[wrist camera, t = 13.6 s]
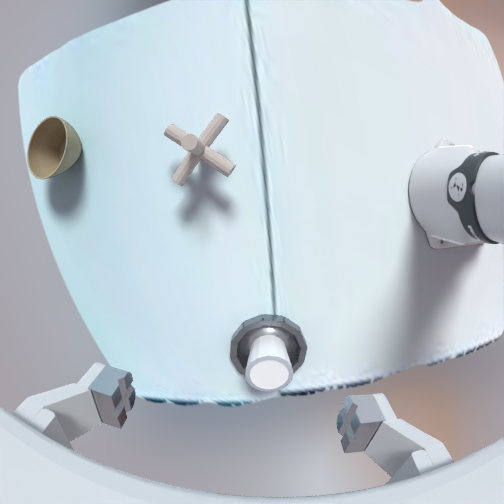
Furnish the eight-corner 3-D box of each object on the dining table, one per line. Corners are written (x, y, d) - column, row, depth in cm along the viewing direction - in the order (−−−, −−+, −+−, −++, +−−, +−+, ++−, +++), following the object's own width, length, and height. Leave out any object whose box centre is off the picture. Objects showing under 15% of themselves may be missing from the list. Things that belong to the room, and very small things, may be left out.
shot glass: (254, 326, 41) (253, 350, 35) (295, 337, 42) (301, 362, 35) (242, 360, 43) (239, 386, 36) (280, 369, 43) (283, 396, 36)
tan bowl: (86, 112, 35) (61, 103, 28) (98, 162, 37) (72, 159, 30) (48, 141, 36) (23, 137, 29) (59, 188, 38) (32, 190, 31)
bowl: (310, 317, 41) (312, 323, 40) (297, 376, 44) (298, 382, 42) (234, 311, 42) (233, 316, 40) (229, 371, 44) (228, 377, 42)
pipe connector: (215, 202, 38) (199, 206, 28) (161, 164, 37) (131, 158, 27) (256, 145, 36) (255, 129, 26) (200, 109, 35) (181, 85, 25)
